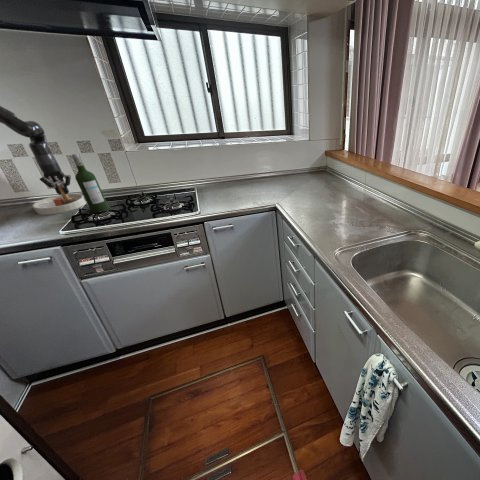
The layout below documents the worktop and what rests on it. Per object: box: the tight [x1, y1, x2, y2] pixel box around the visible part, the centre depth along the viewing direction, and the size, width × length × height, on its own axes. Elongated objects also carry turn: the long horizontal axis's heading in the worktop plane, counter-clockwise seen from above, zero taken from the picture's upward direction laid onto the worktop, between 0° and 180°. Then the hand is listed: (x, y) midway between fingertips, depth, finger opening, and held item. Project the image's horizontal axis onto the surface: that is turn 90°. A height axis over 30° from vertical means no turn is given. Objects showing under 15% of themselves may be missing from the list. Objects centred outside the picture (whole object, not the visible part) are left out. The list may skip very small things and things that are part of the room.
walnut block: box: [65, 199, 76, 204], centre depth 148 cm, size 4×4×4 cm
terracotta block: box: [53, 198, 65, 206], centre depth 150 cm, size 4×4×4 cm
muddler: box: [57, 184, 71, 204], centre depth 149 cm, size 4×4×10 cm
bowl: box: [32, 193, 87, 216], centre depth 148 cm, size 21×21×4 cm
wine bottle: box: [71, 153, 110, 214], centre depth 138 cm, size 8×8×30 cm
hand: (63, 193), depth 149 cm, fingers closed on muddler, 2 cm apart
